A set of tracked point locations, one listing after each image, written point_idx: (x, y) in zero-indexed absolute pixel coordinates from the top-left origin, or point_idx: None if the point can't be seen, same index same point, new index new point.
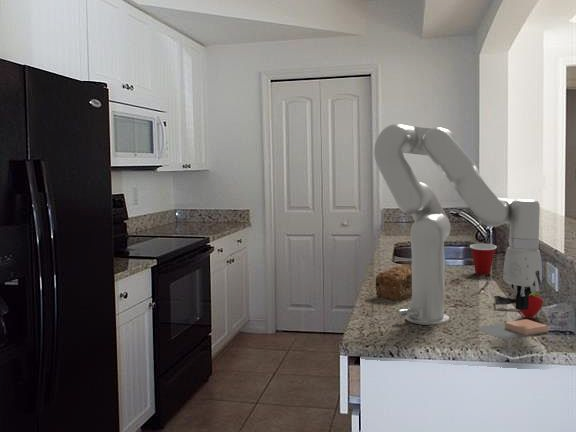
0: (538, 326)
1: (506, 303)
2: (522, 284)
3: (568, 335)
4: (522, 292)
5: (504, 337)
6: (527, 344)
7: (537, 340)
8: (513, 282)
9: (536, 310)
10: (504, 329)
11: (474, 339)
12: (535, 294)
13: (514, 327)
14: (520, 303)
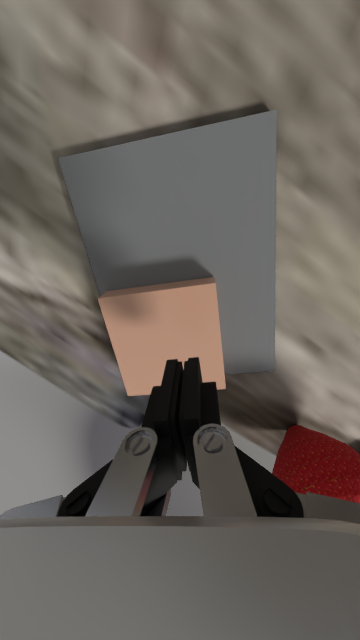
0: (125, 365)
1: None
2: (3, 547)
3: (110, 413)
4: (130, 459)
5: (90, 183)
6: (29, 240)
7: (73, 305)
8: (176, 546)
9: (274, 465)
10: (198, 262)
11: (122, 3)
12: None
13: (159, 287)
14: (163, 386)
